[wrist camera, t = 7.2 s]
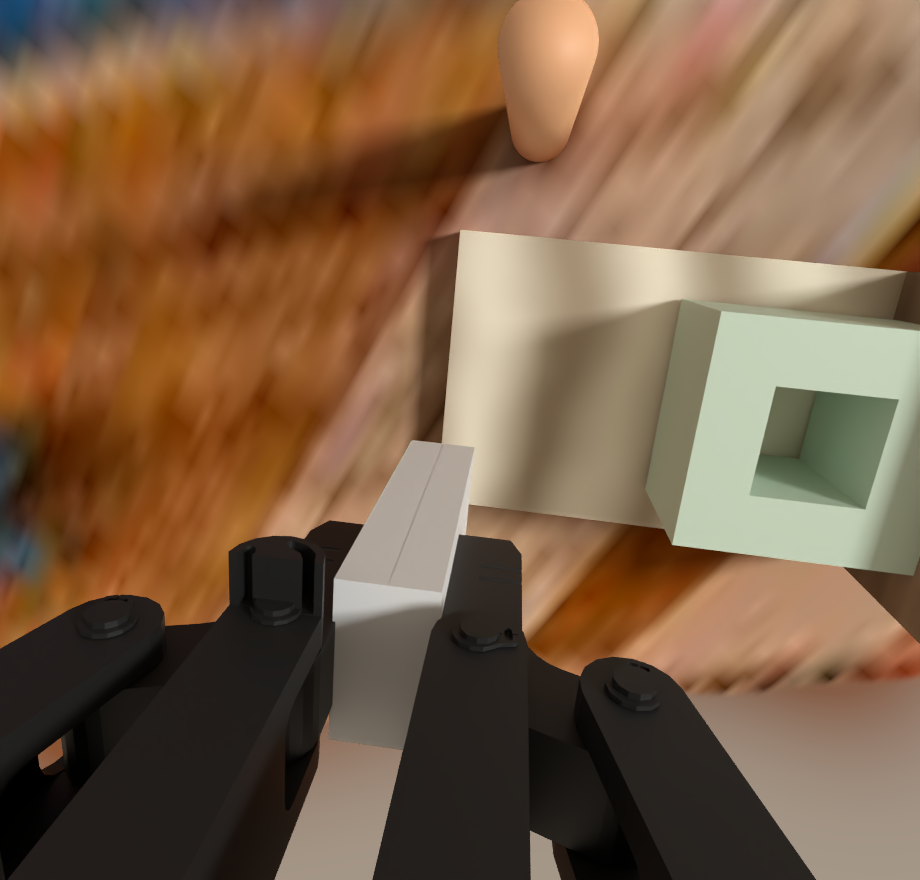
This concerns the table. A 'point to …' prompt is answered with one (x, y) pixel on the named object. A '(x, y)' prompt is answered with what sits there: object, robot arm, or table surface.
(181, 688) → the robot arm
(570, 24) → the dowel
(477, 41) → the table surface
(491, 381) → the beige l-shaped bracket
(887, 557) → the block
